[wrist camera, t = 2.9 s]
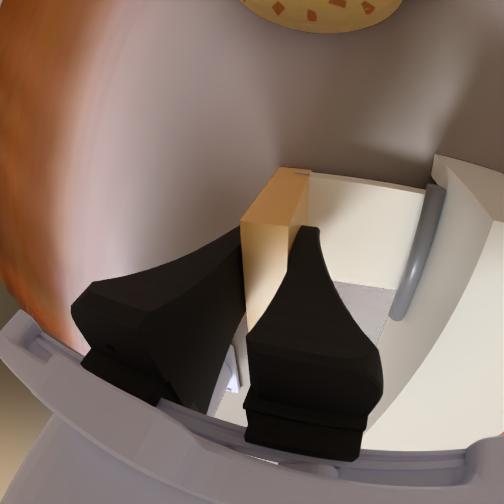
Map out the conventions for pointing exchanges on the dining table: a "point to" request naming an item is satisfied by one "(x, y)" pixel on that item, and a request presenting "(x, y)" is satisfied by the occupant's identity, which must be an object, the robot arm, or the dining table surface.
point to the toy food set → (324, 13)
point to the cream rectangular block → (446, 320)
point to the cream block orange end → (327, 231)
